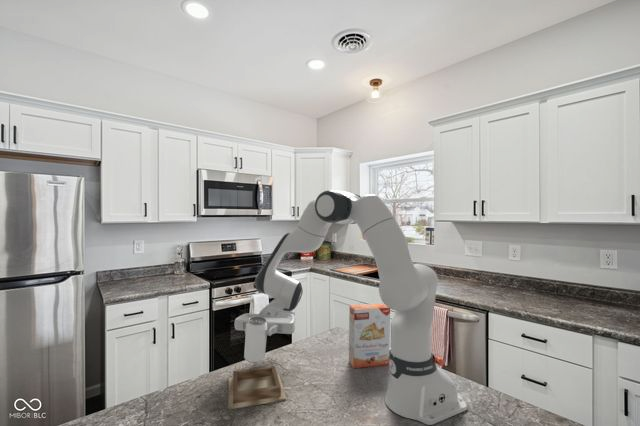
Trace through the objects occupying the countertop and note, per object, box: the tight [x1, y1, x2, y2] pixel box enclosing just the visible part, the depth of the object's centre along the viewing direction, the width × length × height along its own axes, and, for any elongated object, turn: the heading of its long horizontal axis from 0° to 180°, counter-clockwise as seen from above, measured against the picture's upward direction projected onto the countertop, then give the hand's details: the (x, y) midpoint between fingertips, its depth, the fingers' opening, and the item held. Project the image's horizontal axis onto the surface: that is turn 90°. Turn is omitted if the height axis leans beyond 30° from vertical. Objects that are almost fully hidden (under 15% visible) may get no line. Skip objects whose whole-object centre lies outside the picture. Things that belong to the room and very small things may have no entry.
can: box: [243, 317, 267, 364], centre depth 93 cm, size 6×6×12 cm
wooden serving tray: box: [227, 365, 287, 410], centre depth 92 cm, size 16×16×3 cm
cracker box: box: [348, 303, 391, 369], centre depth 109 cm, size 14×6×21 cm, turn 104°
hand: (257, 332), depth 92 cm, fingers closed on can, 5 cm apart
